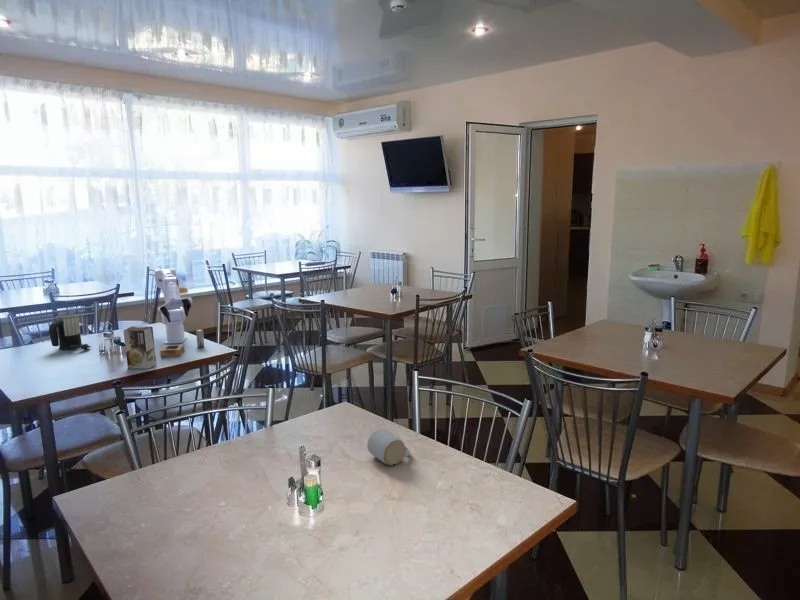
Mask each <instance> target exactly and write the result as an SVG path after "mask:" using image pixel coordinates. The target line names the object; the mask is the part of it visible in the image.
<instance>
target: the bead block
mask: <svg viewBox="0 0 800 600" xmlns="http://www.w3.org/2000/svg"><path fill="white" fill-rule="evenodd" d="M185 350H186V349H185V344H164V345H163V347H162V348H161V349H160V350H159V355H160V357H161V358H166V357H167V358H169V357H170V358H171V357H181V356H182V355H183V354H182V353H184V352H185Z"/></svg>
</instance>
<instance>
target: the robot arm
mask: <svg viewBox="0 0 800 600" xmlns="http://www.w3.org/2000/svg"><path fill="white" fill-rule="evenodd" d="M153 272H154V280H155V285H156V287H157V288H159V289H160V290H161V291H162V294H163V299H164V302H165V303H164V304H162V305H160V306H157V310H158V313H159V314H161V322H162V323H163V324H165V331H166V332H165V333H166V340H165V341H164V345H170V344H182V343H184V342H185V340H186V339H187V338H188V337H187V336H185V327H184V326H185V325H184V324H183V322H185V320H186V317H188V316H189V312H190V309H191V308H192V304H191V303H193V299H192V297H191V296H187V297H181V293H180V289H179V288H180V282H179V281H180V280H179V277H178V276H177V270H176V268H174V267H173V268H165V269H162V268H161V269H157V268H156V269H154V271H153Z"/></svg>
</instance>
